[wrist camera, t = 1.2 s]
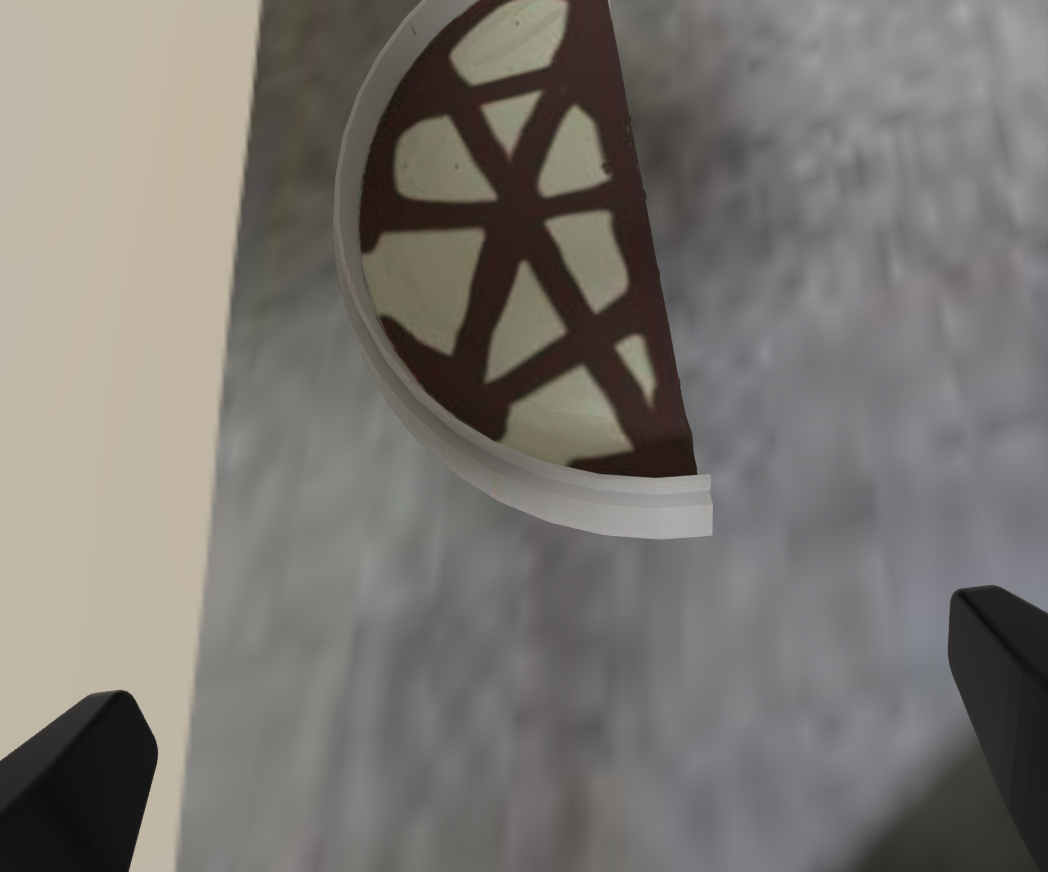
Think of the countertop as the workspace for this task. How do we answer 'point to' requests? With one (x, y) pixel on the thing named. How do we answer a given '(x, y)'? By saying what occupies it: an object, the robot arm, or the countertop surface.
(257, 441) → the countertop surface
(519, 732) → the countertop surface
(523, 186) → the food container
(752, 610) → the countertop surface
